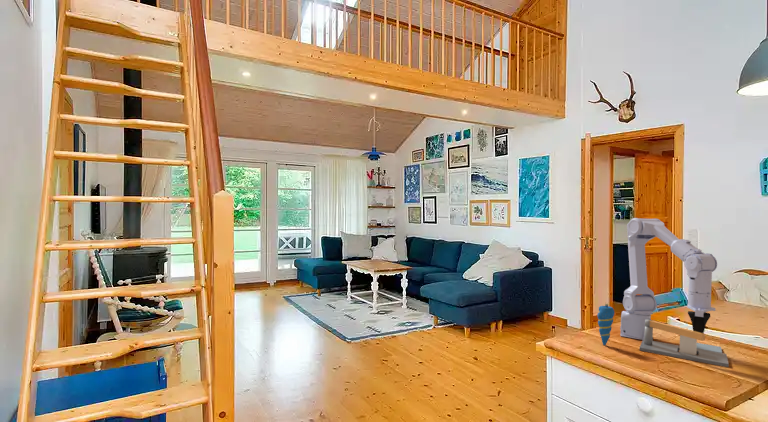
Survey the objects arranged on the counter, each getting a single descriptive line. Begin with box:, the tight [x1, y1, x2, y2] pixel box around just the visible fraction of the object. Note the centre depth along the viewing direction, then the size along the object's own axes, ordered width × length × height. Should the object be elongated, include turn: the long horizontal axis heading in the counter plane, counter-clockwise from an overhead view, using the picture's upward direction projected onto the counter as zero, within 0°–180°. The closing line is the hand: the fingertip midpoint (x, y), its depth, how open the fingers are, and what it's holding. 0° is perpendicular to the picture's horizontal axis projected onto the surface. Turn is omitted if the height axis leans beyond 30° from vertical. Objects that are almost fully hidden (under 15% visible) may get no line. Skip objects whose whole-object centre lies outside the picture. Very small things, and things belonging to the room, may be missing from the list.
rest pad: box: [697, 342, 723, 353], centre depth 144 cm, size 8×8×1 cm
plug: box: [678, 335, 698, 355], centre depth 137 cm, size 4×4×7 cm
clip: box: [645, 319, 706, 342], centre depth 136 cm, size 18×2×2 cm, turn 24°
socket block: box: [638, 326, 729, 368], centre depth 138 cm, size 23×12×7 cm, turn 53°
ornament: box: [596, 303, 615, 346], centre depth 144 cm, size 5×5×15 cm
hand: (698, 335), depth 131 cm, fingers closed
